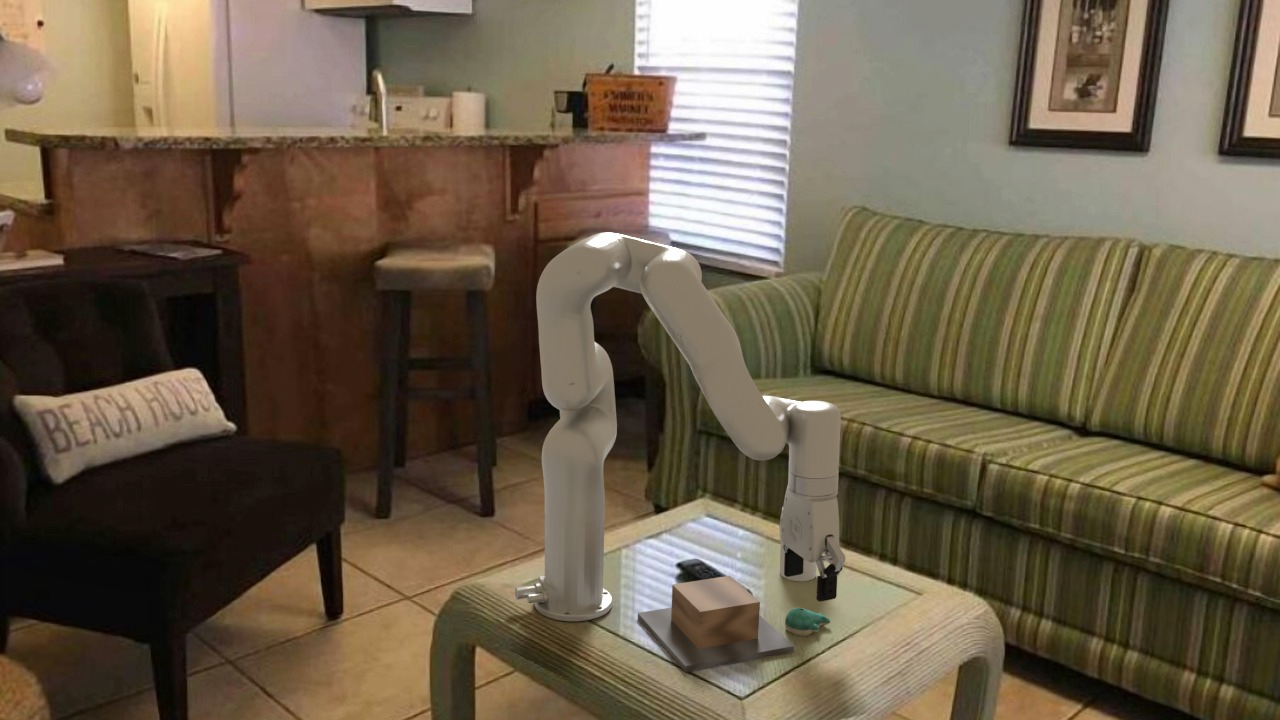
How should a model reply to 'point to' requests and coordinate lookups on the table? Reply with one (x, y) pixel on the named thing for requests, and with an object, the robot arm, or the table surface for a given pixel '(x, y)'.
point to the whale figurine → (804, 621)
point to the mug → (808, 567)
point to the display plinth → (712, 653)
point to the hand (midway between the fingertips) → (809, 586)
